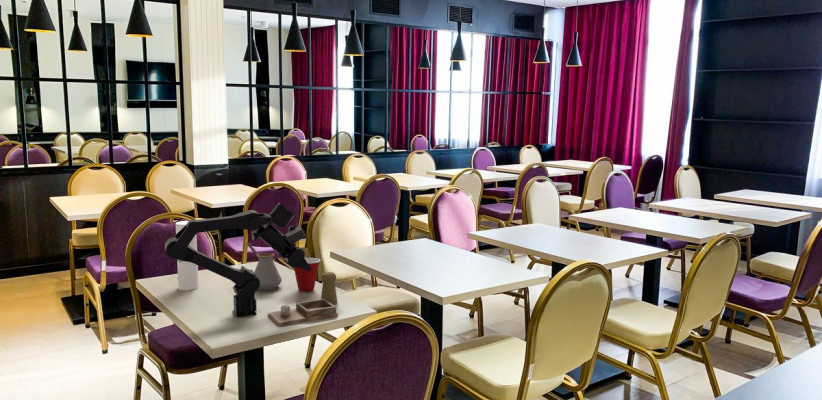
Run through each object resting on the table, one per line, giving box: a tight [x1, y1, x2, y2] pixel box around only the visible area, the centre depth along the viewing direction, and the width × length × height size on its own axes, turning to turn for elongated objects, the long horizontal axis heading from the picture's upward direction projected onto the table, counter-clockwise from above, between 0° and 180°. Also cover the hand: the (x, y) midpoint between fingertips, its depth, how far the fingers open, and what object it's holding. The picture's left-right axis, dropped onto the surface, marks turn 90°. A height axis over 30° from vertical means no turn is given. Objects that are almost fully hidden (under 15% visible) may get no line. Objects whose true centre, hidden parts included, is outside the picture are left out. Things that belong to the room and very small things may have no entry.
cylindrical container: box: [175, 220, 199, 291], centre depth 236 cm, size 7×7×25 cm
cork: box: [320, 271, 338, 306], centre depth 220 cm, size 6×6×11 cm
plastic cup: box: [293, 257, 321, 293], centre depth 236 cm, size 11×11×12 cm
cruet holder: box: [267, 298, 339, 327], centre depth 206 cm, size 20×11×4 cm, turn 120°
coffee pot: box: [244, 242, 282, 291], centre depth 242 cm, size 21×12×15 cm, turn 40°
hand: (307, 266), depth 216 cm, fingers open, 9 cm apart
